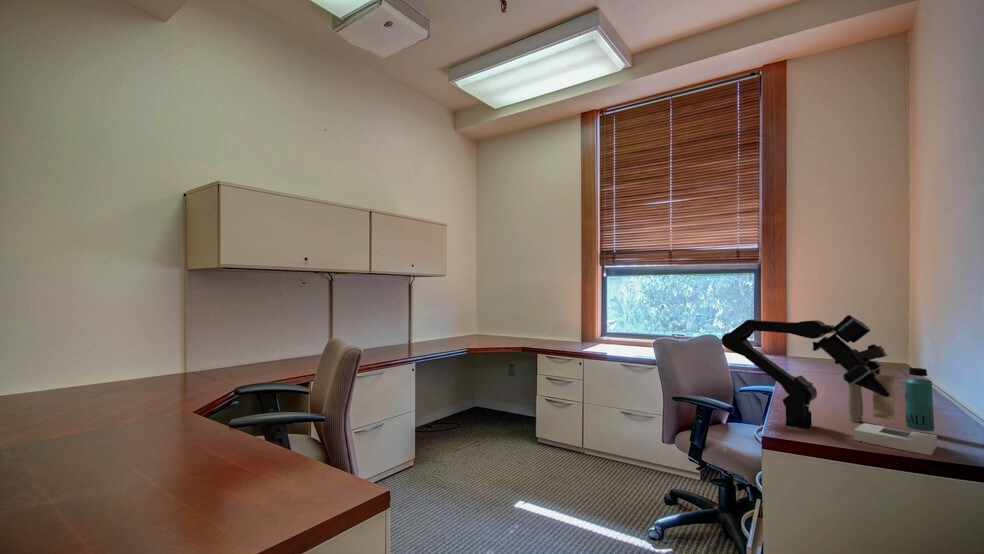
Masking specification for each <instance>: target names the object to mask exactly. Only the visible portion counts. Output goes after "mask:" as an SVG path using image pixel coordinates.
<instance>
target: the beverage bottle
mask: <svg viewBox="0 0 984 554" xmlns="http://www.w3.org/2000/svg"><path fill="white" fill-rule="evenodd" d="M908 375H910V376H917V377H928V371H927V369H926V368H921V367H909V369H908ZM904 386H905V387H904V400H905V409H904V410H905V424H906V427H907V428H909V429H911V430H914V431H915V430H916V431H923V432H934V430H935V416H934V403H933V402H934V399H933V395H934V394H933V383H932V382H931V381H929V380H928V379H924V378H914V377H910V378H908V379H906V380H905V381H904Z"/></svg>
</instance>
